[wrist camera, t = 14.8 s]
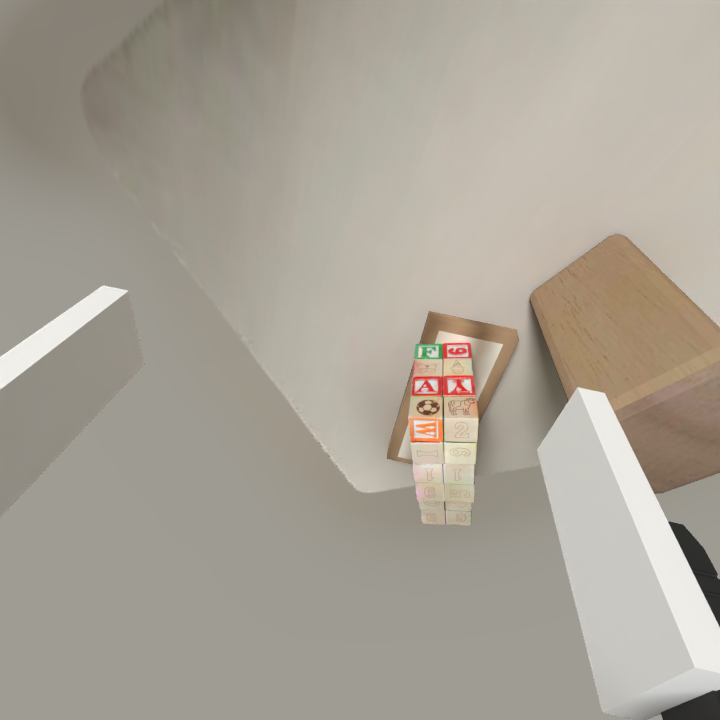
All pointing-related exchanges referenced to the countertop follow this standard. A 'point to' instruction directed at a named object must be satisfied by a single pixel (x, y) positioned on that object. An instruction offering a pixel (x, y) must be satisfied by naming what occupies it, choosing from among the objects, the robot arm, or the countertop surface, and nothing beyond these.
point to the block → (638, 357)
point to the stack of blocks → (444, 432)
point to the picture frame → (487, 363)
